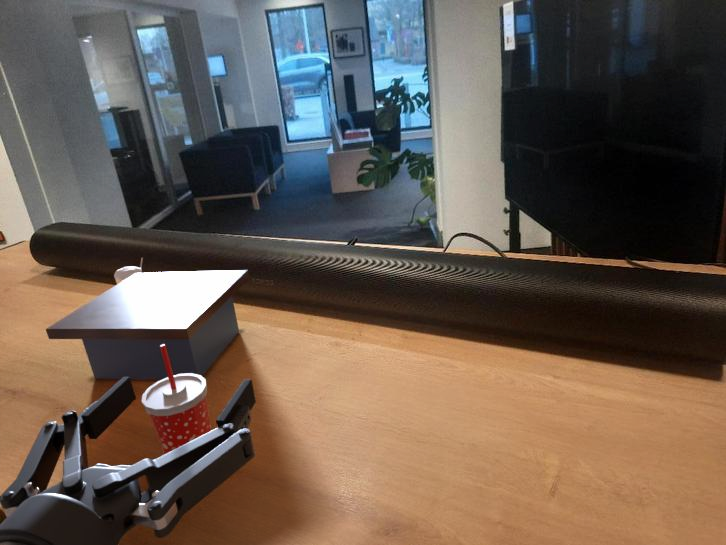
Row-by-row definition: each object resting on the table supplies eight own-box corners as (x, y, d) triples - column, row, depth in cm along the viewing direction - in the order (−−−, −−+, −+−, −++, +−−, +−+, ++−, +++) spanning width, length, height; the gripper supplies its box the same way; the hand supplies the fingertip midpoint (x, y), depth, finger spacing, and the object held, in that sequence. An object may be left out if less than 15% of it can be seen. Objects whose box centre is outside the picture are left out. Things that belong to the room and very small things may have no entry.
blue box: (94, 378, 70) (78, 328, 67) (149, 331, 83) (137, 287, 80) (198, 380, 67) (186, 328, 64) (239, 331, 80) (230, 286, 77)
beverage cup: (230, 467, 51) (202, 347, 46) (168, 494, 48) (132, 370, 43) (214, 435, 56) (188, 324, 51) (158, 458, 53) (124, 343, 48)
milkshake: (161, 311, 91) (148, 259, 87) (132, 322, 87) (117, 269, 83) (150, 305, 94) (137, 255, 90) (121, 316, 90) (106, 264, 86)
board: (48, 339, 65) (45, 329, 64) (137, 281, 83) (135, 272, 83) (189, 339, 61) (186, 328, 60) (249, 278, 79) (247, 269, 79)
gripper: (-105, 601, 35) (93, 415, 55) (217, 642, 31) (308, 423, 50) (-153, 522, 33) (73, 356, 52) (192, 554, 28) (298, 358, 48)
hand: (188, 388), depth 51 cm, fingers open, 13 cm apart
